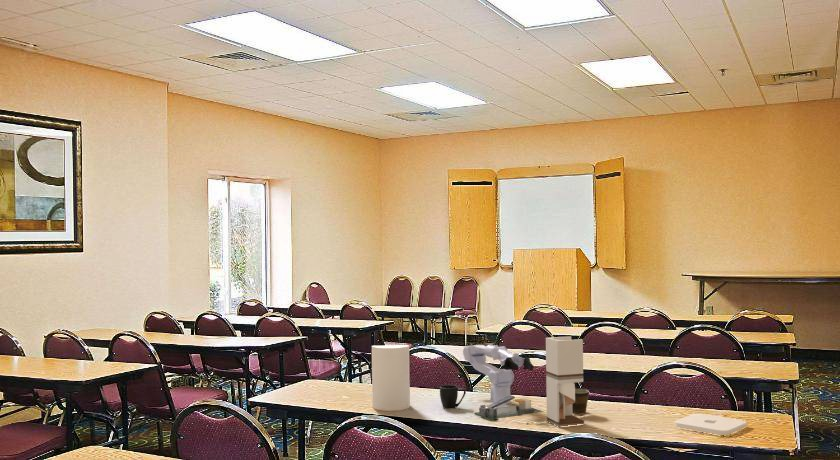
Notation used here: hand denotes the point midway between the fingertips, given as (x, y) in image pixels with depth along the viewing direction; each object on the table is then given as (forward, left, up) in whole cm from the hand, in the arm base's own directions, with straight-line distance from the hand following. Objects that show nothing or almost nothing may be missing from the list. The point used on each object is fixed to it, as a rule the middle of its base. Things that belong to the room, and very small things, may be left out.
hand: (525, 368), depth 326 cm
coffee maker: (+23, +3, -20) cm, 31 cm away
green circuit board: (-3, -7, -20) cm, 21 cm away
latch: (-3, +1, -19) cm, 19 cm away
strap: (-3, -11, -15) cm, 19 cm away
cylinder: (-43, -45, -20) cm, 65 cm away
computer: (+57, +49, -20) cm, 78 cm away
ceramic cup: (+12, +17, -20) cm, 29 cm away
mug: (-26, -22, -20) cm, 39 cm away
